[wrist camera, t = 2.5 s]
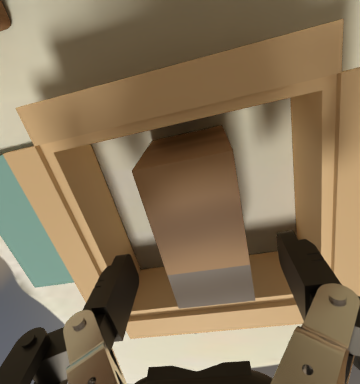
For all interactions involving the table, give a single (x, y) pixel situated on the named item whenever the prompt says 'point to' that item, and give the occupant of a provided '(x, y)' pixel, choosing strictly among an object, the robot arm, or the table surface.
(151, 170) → the box
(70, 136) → the carton
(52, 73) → the table surface
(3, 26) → the wooden block
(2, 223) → the mat
